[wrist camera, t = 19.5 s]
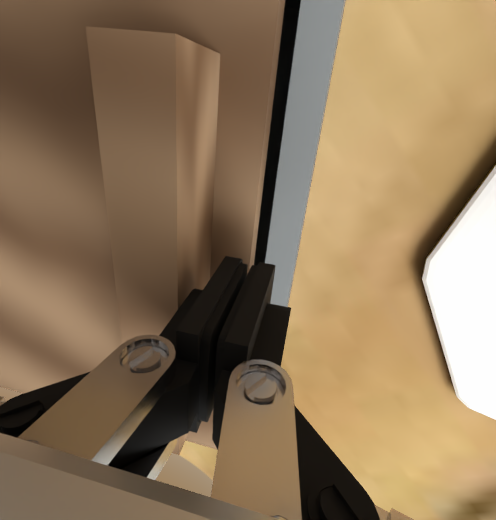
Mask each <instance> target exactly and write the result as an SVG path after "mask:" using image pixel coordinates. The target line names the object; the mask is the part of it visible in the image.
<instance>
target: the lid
mask: <svg viewBox="0 0 496 520" xmlns="http://www.w3.org/2000/svg"><path fill="white" fill-rule="evenodd" d="M284 6H285V0H0V387H3V388H6V389H10V390H13V391H17V392H20V393H23V394H24V393H27V392H30V391H33V390H36V389H39V388H42V387H45V386H48V385H51V384H54V383H57V382H60V381H63V380H66V379H69V378H72V377H75V376H78V375H82V374H85V373H88V372H91V371H92V370H93V369H94V368H95V367H97V366H98V365H99V364H100V363H101V362H102V361H103V360H104V359H105V358H107V357H108V356H109V355H110V354H111V353H112V352H113V351H114V350H116V349H117V348H118V347H119V346H120V345H121V344H123V343H124V342H126V341H127V340H129V339H132V338H134V337H137V336H142V335H158V336H159V335H160V334H161V332H162V331H163V329H164V328H165V327H166V325H167V324H168V323H169V321H170V320H171V318H172V317H173V316H174V314H175V313H176V312H177V310H178V309H179V307H180V306H181V305H182V303H183V302H184V300H185V299H186V298H187V296H188V295H189V294H190V292H191V291H192V290H193V289H195V288H196V289H200V290H203V289H204V288H205V286H206V285H207V283H208V282H209V280H210V279H211V277H212V276H213V274H214V273H215V271H216V270H217V268H218V267H219V265H220V264H221V262H222V261H223V259H224V258H225V256H229V257H235V258H240V259H242V260H243V263H244V264H248V270H247V274H248V272H249V270H250V268H251V266H252V265H254V259H255V250H256V242H257V234H258V225H259V217H260V208H261V200H262V192H263V183H264V175H265V166H266V158H267V149H268V141H269V133H270V124H271V116H272V107H273V99H274V91H275V82H276V74H277V65H278V57H279V49H280V40H281V32H282V23H283V15H284ZM212 433H213V410H212V413H211V416H210V418H209V421H208V422H204V421H201V424H200V426H199V429H198V431H197V433H195V432H191V431H189V433H187V434H185V435H183V436H181V437H179V438H177V443H176V446H175V448H174V450H173V452H172V453H174V454H178V455H179V454H180V452H181V449H182V447H183V444H184V442H185V440H186V441H189V442H193V443H196V444H200V445H203V446H207V447H210V448H214V449H217V448H216V446H215V444H214V442H213V440H212ZM217 450H218V449H217Z"/></svg>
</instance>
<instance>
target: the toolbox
mask: <svg viewBox="0 0 496 520" xmlns="http://www.w3.org/2000/svg"><path fill="white" fill-rule="evenodd" d="M345 1H346V0H285V6H284V15H283V23H282V32H281V40H280V49H279V57H278V65H277V74H276V82H275V91H274V99H273V107H272V116H271V124H270V133H269V141H268V149H267V158H266V166H265V175H264V183H263V192H262V200H261V208H260V217H259V225H258V234H257V242H256V250H255V259H254V265H255V266H257V265H258V263H259V262H262V263H268V264H273V265H275V274H274V281H273V288H272V295H271V302H270V304H275V305H280V306H285V307H288V303H289V297H290V292H291V287H292V282H293V276H294V271H295V266H296V260H297V255H298V250H299V244H300V239H301V234H302V229H303V223H304V218H305V213H306V207H307V202H308V197H309V191H310V186H311V181H312V176H313V170H314V165H315V160H316V154H317V149H318V144H319V139H320V133H321V128H322V123H323V117H324V112H325V107H326V101H327V96H328V91H329V86H330V80H331V75H332V70H333V64H334V59H335V54H336V48H337V43H338V38H339V33H340V27H341V22H342V17H343V11H344V6H345Z"/></svg>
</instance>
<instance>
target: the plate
mask: <svg viewBox="0 0 496 520" xmlns="http://www.w3.org/2000/svg"><path fill="white" fill-rule="evenodd" d="M422 281H423V284H424V288H425V291H426V294H427V298H428V301H429V305H430V308H431V311H432V315H433V318H434V322H435V325H436V328H437V332H438V335H439V339H440V342H441V345H442V349H443V352H444V356H445V359H446V362H447V366H448V369H449V373H450V376H451V379H452V383H453V386H454V389H455V393H456V396H457V397H458V398H459V399H460V400H461V401H462V402H463V403H464V404H465V405H466V406H467V407H468V408H470V409H472V410H474V411H477V412H479V413H481V414H484V415H486V416H488V417H491V418H493V419H495V420H496V163H495V164H494V166H493V167H492V168H491V170H490V171H489V173H488V174H487V175H486V177H485V178H484V179H483V181H482V182H481V183H480V185H479V186H478V188H477V189H476V190H475V192H474V193H473V194H472V196H471V197H470V198H469V200H468V201H467V203H466V204H465V205H464V207H463V208H462V209H461V211H460V212H459V213H458V215H457V216H456V217H455V219H454V220H453V222H452V223H451V224H450V226H449V227H448V228H447V230H446V231H445V232H444V234H443V235H442V237H441V238H440V239H439V241H438V242H437V243H436V245H435V246H434V247H433V249H432V250H431V251H430V253H429V254H428V256H427V257H426V259H425V263H424V268H423V273H422Z"/></svg>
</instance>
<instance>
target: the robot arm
mask: <svg viewBox="0 0 496 520" xmlns="http://www.w3.org/2000/svg"><path fill="white" fill-rule="evenodd" d="M247 270H248V264H244V263H243V260H242V259H240V258H235V257H229V256H225V258H224V259H223V261H222V262H221V264H220V265H219V267H218V268H217V270H216V271H215V273H214V274H213V276H212V277H211V279H210V280H209V282H208V283H207V285H206V286H205V288H204V289H203V290H200V289H196V288H195V289H193V290H192V291H191V292H190V294H189V295H188V296H187V298H186V299H185V300H184V302H183V303H182V305H181V306H180V307H179V309H178V310H177V312H176V313H175V314H174V316H173V317H172V318H171V320H170V321H169V323H168V324H167V325H166V327H165V328H164V329H163V331H162V332H161V334H160V335H159V336H158V335H142V336H137V337H134V338H132V339H129V340H127V341H126V342H124V343H123V344H121V345H120V346H119V347H118V348H117V349H116V350H114V351H113V352H112V353H111V354H110V355H109V356H108V357H107V358H105V359H104V360H103V361H102V362H101V363H100V364H99V365H98V366H97V367H95V368H94V369H93V370H92V371H91V372H88V373H85V374H82V375H78V376H75V377H72V378H69V379H66V380H63V381H60V382H57V383H54V384H51V385H48V386H45V387H42V388H39V389H36V390H33V391H30V392H27V393H24V394H21V395H19V396H17V397H14V398H12V399H10V400H8V401H7V402H6V401H5V398H4V397H0V520H413V519H412V518H410V517H408V516H406V515H404V514H402V513H400V512H398V511H396V510H395V509H393V508H392V509H391V511H390V512H387V511H385V510H383V509H381V508H380V507H378V506H376V505H374V503H373V501H372V500H371V498H370V497H369V495H368V494H367V492H366V491H365V489H364V488H363V487H362V486H361V485H360V483H359V482H358V481H357V480H356V479H355V477H354V476H353V475H352V474H351V473H350V471H349V470H348V469H347V468H346V467H345V465H344V464H343V463H342V462H341V461H340V459H339V458H338V457H337V456H336V455H335V453H334V452H333V451H332V450H331V449H330V447H329V446H328V445H327V444H326V443H325V441H324V440H323V439H322V438H321V437H320V435H319V434H318V433H317V432H316V431H315V429H314V428H313V427H312V426H311V425H310V423H309V422H308V421H307V420H306V419H305V417H304V416H303V415H302V414H301V413H300V411H299V410H298V409H297V408H296V407H295V405H294V393H293V385H292V381H291V378H290V377H289V375H288V373H287V372H286V371H285V370H284V369H283V368H281V361H282V355H283V350H284V344H285V339H286V333H287V328H288V322H289V316H290V311H291V308H290V307H285V306H280V305H275V304H270V302H271V295H272V288H273V281H274V274H275V265H273V264H268V263H262V262H259V263H258V265H257V266H255V265H252V266H251V268H250V270H249V272H248V274H247ZM212 410H213V433H212V440H213V442H214V444H215V446H216V448H217V449H218V453H217V459H216V466H215V472H214V478H213V485H212V491H211V497H207V496H204V495H201V494H197V493H195V492H191V491H188V490H185V489H182V488H178V487H175V486H172V485H169V484H165V483H162V482H159V481H156V480H155V479H156V478H157V476H158V475H159V473H160V471H161V469H162V468H163V466H164V465H165V463H166V462H167V460H168V458H169V457H170V455H171V453H172V452H173V450H174V448H175V446H176V443H177V438H179V437H181V436H183V435H185V434H187V433H189V431H191V432H195V433H197V431H198V429H199V426H200V424H201V421H204V422H208V421H209V418H210V416H211V413H212Z"/></svg>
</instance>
